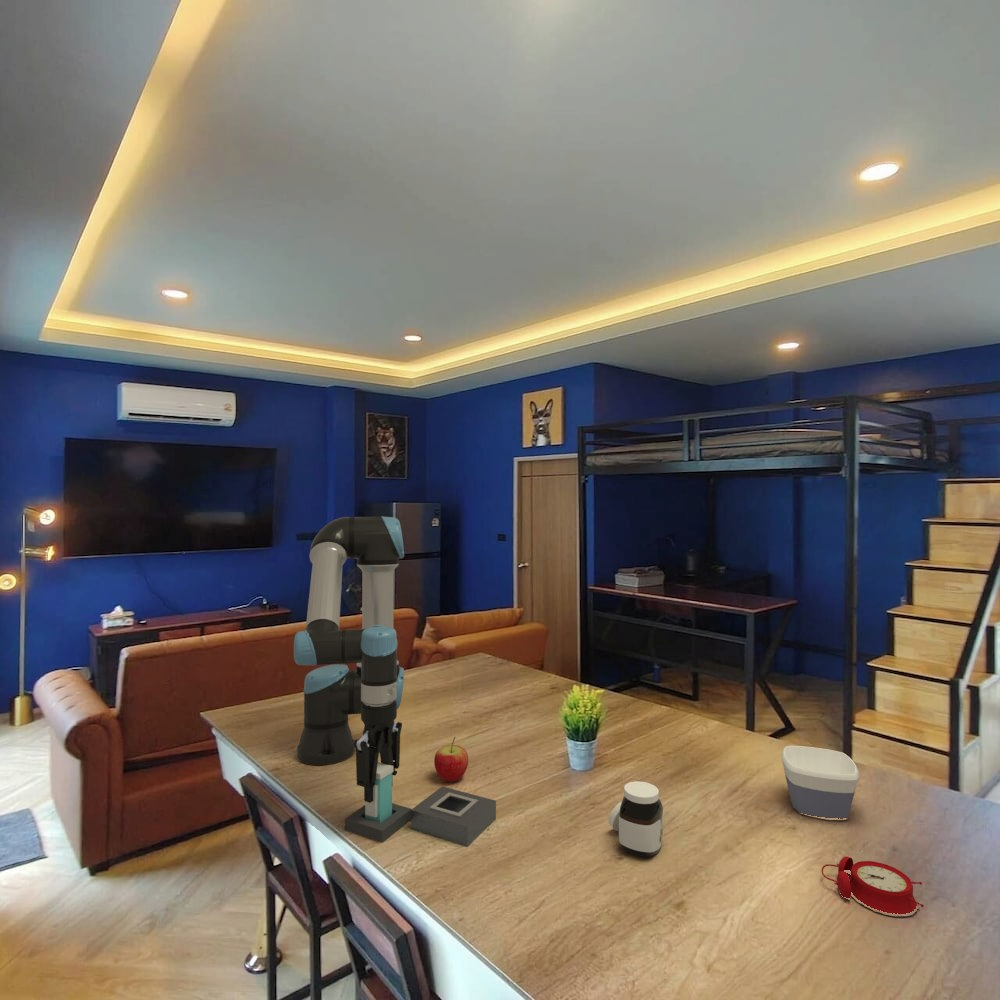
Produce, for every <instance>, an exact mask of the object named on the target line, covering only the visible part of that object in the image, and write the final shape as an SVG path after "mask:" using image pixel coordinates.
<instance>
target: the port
mask: <svg viewBox="0 0 1000 1000" xmlns="http://www.w3.org/2000/svg"><path fill="white" fill-rule="evenodd" d="M495 820H497V800H495V799H492V798H488V797H484V796H480V795H476V794H472V793H468V792H466V791H465V792H464V791H460V790H457V789H455V788H454V789H453V788H450V787H446V786H440V787H439V788H438V789H436V790H435V791H434V792H433V793H431V794H430V795H428V796H427V797H426V798H425V799H423V800H422V801H421V802H419V803H418V804H417V805H415V806H414V807H412V808H411V821H410V829H411V830H413V831H417V832H420V833H423V834H427V835H429V836H432V837H437V838H440V839H442V840H446V841H448V842H453V843H456V844H459V845H462V846H465V847H469V846H470V845H471V844H472V843H473V842H474V841H475V840H476V839H477V838H478V837H480V835H481V834H482V833H483V832H484V831H485V830H486V829H487V828H489V826H490V825H492V823H493V822H494V821H495Z"/></svg>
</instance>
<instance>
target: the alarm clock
mask: <svg viewBox="0 0 1000 1000" xmlns="http://www.w3.org/2000/svg"><path fill="white" fill-rule="evenodd" d="M826 867H835V868H837V875H836V880H835V879H832V878H830V877H827V876H826V875H825V874H824V869H825V868H826ZM844 870H850V871H851V875H850V874H848V873H846V872H844ZM821 875H822V876H823V878H825V879H827V880H829V881H832V882H833V883H834V885H836V886H837V889H838V893H839V892H840V893H841V895H842V896H843V897H846V898H850V899H851V898H852V897H851V892H852V893H853V895H854V896H855V897H856V898H857V899H858V900H860V901H861V902H863V903H864V904H866V905H867V906H870V907H871V908H874V909H877V910H879V911H880V910H881V911H883V912H887V913H892V914H893V913H895V914H897V913H898V914H906V913H910V912H912V911H914V909H916V906H920V907H921V908H923V907H924V904H923V903H920V902H918V901H917V900H916V899H915V896H914V884H916V885H917V884H919V885H923V882H922V881H912V880H911V879H910V877H908V875H906V874H905V873H904V872H902V871H901V870H899V869H898V868H895V867H894V866H891V865H888V864H885V863H882V862H878V861H872V860H863V861H862V860H861V861H857V862H855V863H854V860H853V858H852V857H849V856H843V857H841V859H840V860H839V863H837V864H830V863H827V864H824V865H822V868H821ZM848 876H850V877H848ZM840 893H839V894H840ZM841 895H840V896H841ZM842 896H841V897H842ZM843 897H842V898H843Z"/></svg>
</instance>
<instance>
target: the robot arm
mask: <svg viewBox="0 0 1000 1000" xmlns="http://www.w3.org/2000/svg"><path fill="white" fill-rule="evenodd" d="M403 540H404V538H403V532H402V525H401V523H400V520H399V519H398V518H397V517H392V516H391V517H390V516H383V515H381V516H343V517H338V518H336V519H334V520H332V521H330V522H328V523H327V524H326V525H324V526H323V528H321V529H320V530H319V531H318V533H317V534H316V535H315V537H314V538H313V540H312V542H311V544H310V549H309V560H310V561H309V562H310V563H311V564H312V568H311V575H310V576H311V577H310V585H309V595H308V596H309V597H308V603H307V611H306V612H307V615H306V621H305V622H306V624H305V630H301V631H297V632H296V633H295V634H294V640H293V660H294V662H295V664H296V665H298V666H314V667H316V666H320V667H318V668H317V667H316V668H314V669H313V670H311V671H310V672H308V673H306V675H305V678H304V686H303V688H304V689H303V699H304V700H303V705H304V706H303V708H304V709H303V711H304V712H303V720H304V721H303V728H302V729H303V730H302V734H301V735H300V739H299V743H298V745H297V748H296V757H297V760H298V761H299V762H301V763H303V764H306V765H310V766H311V765H312V766H325V765H333V764H337V763H339V762H343V761H345V760H348V759H349V758H351V757H352V756H353V755H354V754H355V770H356V772H355V773H356V774H355V775H356V777H355V778H356V786H359V787H362V788H363V790H364V791H363V792H364V793H363V795H364V796H363V799H364V802H365V803H364V805H365V815H369V816H372V817H375V818H376V817H377V816H378V785H375V780H376V772H377V764H378V762H379V759H380V763H384V764H387V765H391V766H393V772H392V787H393V785H394V784H393V776H396V775H397V774H398V770H396V769H399V768H400V761H401V760H400V759H401V758H400V757H401V756H400V755H401V754H400V753H401V748H400V747H401V732H402V727H403V723H402V722H400V721H395V720H396V719H397V714H398V712H397V711H398V709H399V708H400V706H401V703H402V699H403V691H404V685H405V684H404V682H405V679H404V677H405V669H404V668H403V667H401V666H400V661H399V660H398V644H399V643H398V639H397V636H398V635H397V630H396V629H395V628H394V582H395V581H394V571H395V569H396V568H398V566H400V559H401V560H402V559H403V558H404V557H405V551H404V550H405V548H404V541H403ZM347 559H350V560H353V559H354V560H355V559H356V566H357V567H358V568H359V569H360V570H361V572H362V573H361V574H362V581H361V583H362V591H361V592H362V594H361V595H362V596H361V597H362V598H361V599H362V601H361V602H362V603H361V604H362V607H361V609H362V611H361V614H362V616H361V617H362V618H361V621H362V623H361V626H362V627H361V628H354V629H353V628H352V629H340V622H341V621H340V618H341V601H342V596H341V595H342V582H343V581H342V580H343V565H344V564H345V563H346V562H347ZM347 664H356V669H355V670H350V669H349V666H348V665H347ZM349 715H350V716H351V715H360V720H361V721H362V723H363V724H364V725H363V726H364V728H363V730H362V731H363V732H362V736H361V737H360V739H355V740H354V738H353V735H352V731H351V729H350V725H349ZM379 757H380V758H379Z"/></svg>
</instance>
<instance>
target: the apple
mask: <svg viewBox="0 0 1000 1000" xmlns="http://www.w3.org/2000/svg"><path fill="white" fill-rule="evenodd" d="M455 738H456V736H454V737H453V740H452V744H450V745H445V746H442V747H440V748H439V749H438V750H437V751H436V752H435V754H434V762H433V763H434V768H435V771H436V774H437V775H438V777H439V778H440V779H441V780H443V781H444V782H449V783H452V782H453V783H454V782H457V781H459V780H460V779H462V778H463V777H464V775H465V774H466V771H467V769H468V766H469V755H468V751H467V749H465V748H464V747H462V746H460V745H455V744H454V742H455Z"/></svg>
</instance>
